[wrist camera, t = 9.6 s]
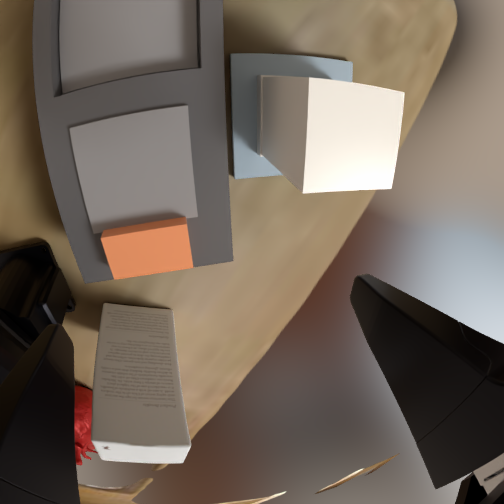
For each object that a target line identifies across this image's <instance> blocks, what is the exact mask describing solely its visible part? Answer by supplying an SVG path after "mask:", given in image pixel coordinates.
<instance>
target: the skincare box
mask: <svg viewBox="0 0 504 504" xmlns="http://www.w3.org/2000/svg"><path fill="white" fill-rule="evenodd" d="M91 441H92V443H93V445H94V447H95V448H96V450H97V452H98V454H99V456H100V458H101V459H102V460H108V461H122V462H139V463H183V462H184V459H185V457H186V455H187V453H188V451H189V449H190V447H191V441H190V436H189V431H188V426H187V421H186V415H185V408H184V402H183V396H182V389H181V381H180V373H179V365H178V356H177V347H176V337H175V326H174V315H173V310H171V309H158V308H147V307H137V306H127V305H118V304H110V303H104V304H103V309H102V315H101V321H100V328H99V335H98V343H97V350H96V359H95V368H94V380H93V395H92V422H91Z"/></svg>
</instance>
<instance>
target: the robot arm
mask: <svg viewBox="0 0 504 504" xmlns="http://www.w3.org/2000/svg"><path fill="white" fill-rule="evenodd" d="M42 248H45V249H46V251H45V250H43V249H42ZM350 300H351V304H352V306H353V309H354V310H355V314H356V316H357V318H358V321H359V323H360V326H361V328H362V331H363V333H364V336H365V338H366V340H367V343H368V345H369V347H370V349H371V351H372V352H373V354H374V356H375V358H376V360H377V362H378V364H379V366H380V368H381V370H382V372H383V374H384V375H385V378H386V380H387V382H388V384H389V386H390V388H391V390H392V392H393V394H394V396H395V398H396V400H397V403H398V405H399V407H400V408H401V411H402V413H403V415H404V417H405V419H406V421H407V424H408V426H409V428H410V430H411V433H412V435H413V437H414V439H415V441H416V442H417V443H416V444H417V447H418V449H419V451H420V453H421V456H422V458H423V460H424V463H425V465H426V468H427V470H428V473H429V475H430V477H431V480H432V482H433V485H434V487H435V489H438V488H440V487H443V486H445V485H447V484H449V483H451V482H453V481H455V480H457V479H459V478H461V477H463V476H465V475H467V474H469V473H471V472H472V473H471V474H470V475H469V476H467V477H466V478H465V479H464V480H463V481H462V482H461V485H460V489H459V492H458V496H457V499H456V502H455V504H504V344H503V343H501V342H498V341H496V340H494V339H492V338H490V337H488V336H486V335H484V334H482V333H479V332H478V331H476V330H474V329H472V328H470V327H468V326H466V325H465V324H463V323H461V322H458V321H457V320H455V319H454V318H452V317H450V316H448V315H446V314H444V313H443V312H441V311H439V310H437V309H435V308H433V307H431V306H429V305H427V304H426V303H424V302H422V301H420V300H418V299H416V298H414V297H412V296H410V295H408V294H407V293H405V292H403V291H401V290H399V289H397V288H395V287H393V286H391V285H389V284H387V283H385V282H383V281H381V280H379V279H377V278H376V277H374V276H372V275H370V274H362V275H359V276H356V278H355V279H354V283H353V287H352V291H351V294H350ZM69 305H70V306H69ZM75 306H76V304H75V302H74V300H73V298H72V296H71V291H70V289H69V287H68V284H67V282H66V280H65V278H64V276H63V273H62V271H61V269H60V268H59V267H58V264H57V262H56V260H55V257H54V255H53V252H52V250H51V247H50V245H49V244H48V243H46V242H40V243H35V244H31V245H26V246H22V247H17V248H13V249H9V250H4V251H0V504H80V497H79V490H78V480H77V471H76V455H75V379H74V346H73V343H72V341H71V339H70V337H69V336H68V334H67V332H66V331H65V329H64V327H63V326H62V323H63V320H64V316H65V313H66V312H72V311H74V310H75Z"/></svg>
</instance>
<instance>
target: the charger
mask: <svg viewBox="0 0 504 504" xmlns="http://www.w3.org/2000/svg"><path fill="white" fill-rule="evenodd" d="M404 94H405V93H404V92H400V91H395V90H391V89H386V88H381V87H376V86H370V85H365V84H359V83H352V82H345V81H338V80H330V79H321V78H310V77H294V76H274V75H257V154H258V155H259V156H260V157H265V158H266V159H267V160H268V161H269V162H270V163H271V164H272V165H273V166H274V167H276V168H277V169H278V170H279V171H280V172H281V173H282V174H283V175H284V176H285V177H286V178H287V179H288V180H289V181H290V182H291V183H293V184H294V185H295V186H296V187H297V188H298V189H299V190H300V191H301V192H302V193H316V192H331V191H349V190H370V189H391V188H392V182H393V177H394V171H395V166H396V159H397V153H398V146H399V139H400V132H401V124H402V115H403V105H404Z"/></svg>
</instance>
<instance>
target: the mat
mask: <svg viewBox="0 0 504 504" xmlns="http://www.w3.org/2000/svg"><path fill="white" fill-rule="evenodd" d="M352 69H353V62H348V61H342V60H335V59H328V58H319V57H310V56H299V55H285V54H260V53H235V54H230V85H231V117H232V145H233V170H234V179H243V178H253V177H263V176H275V175H283V174H282V173H281V172H280V171H279V170H278V169H277V168H276V167H274V166H273V165H272V164H271V163H270V162H269V161H268V160H267V159H266V158H265V157H260V156H259V155H258V154H257V75H274V76H294V77H310V78H321V79H330V80H338V81H345V82H352Z"/></svg>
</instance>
